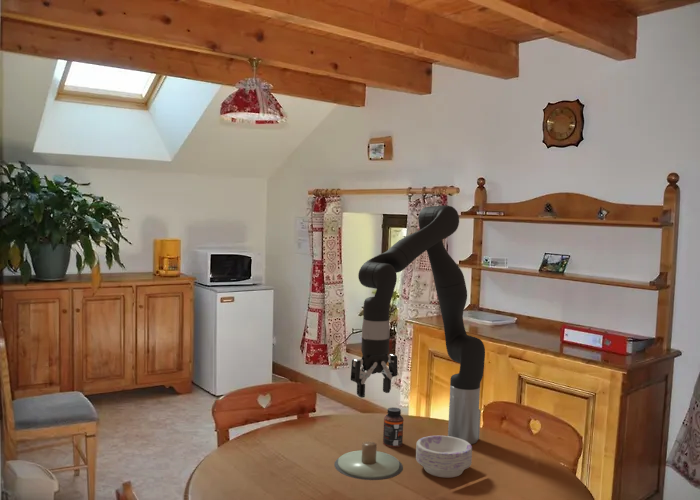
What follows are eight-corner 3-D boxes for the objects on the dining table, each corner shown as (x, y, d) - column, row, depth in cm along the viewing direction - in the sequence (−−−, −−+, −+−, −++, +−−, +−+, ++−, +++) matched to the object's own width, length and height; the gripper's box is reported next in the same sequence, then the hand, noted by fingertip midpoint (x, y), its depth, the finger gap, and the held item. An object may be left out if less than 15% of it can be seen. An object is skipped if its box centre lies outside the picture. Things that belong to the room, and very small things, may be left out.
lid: (370, 449, 184) (371, 429, 184) (412, 468, 171) (413, 446, 171) (325, 462, 173) (326, 441, 173) (366, 483, 160) (366, 461, 160)
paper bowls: (431, 456, 182) (432, 430, 181) (480, 470, 173) (481, 442, 173) (404, 473, 170) (406, 444, 169) (455, 488, 161) (457, 458, 160)
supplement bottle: (401, 450, 186) (402, 413, 185) (381, 448, 187) (382, 411, 186) (403, 443, 192) (405, 407, 191) (384, 441, 193) (385, 405, 192)
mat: (371, 449, 186) (371, 447, 186) (417, 470, 171) (417, 468, 171) (320, 464, 173) (320, 461, 173) (365, 488, 159) (365, 486, 159)
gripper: (387, 331, 176) (385, 387, 177) (346, 335, 168) (344, 394, 169) (404, 336, 170) (402, 394, 171) (362, 340, 162) (360, 402, 163)
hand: (373, 394), depth 170 cm, fingers open, 8 cm apart
